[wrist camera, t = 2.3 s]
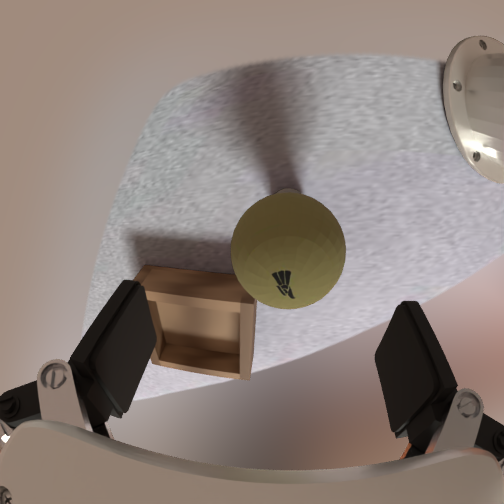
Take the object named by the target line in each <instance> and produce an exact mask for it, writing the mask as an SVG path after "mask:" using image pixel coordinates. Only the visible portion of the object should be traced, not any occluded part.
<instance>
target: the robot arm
mask: <svg viewBox="0 0 504 504" xmlns="http://www.w3.org/2000/svg"><path fill="white" fill-rule="evenodd" d="M443 95H444V105H445V111H446V117H447V120H448V124H449V127H450V130H451V133H452V136H453V138H454V140H455V143H456V145H457V147H458V149H459V151H460V152H461V154H462V156H463V157H464V159H465V160H466V161H467V162H468V164H469V165H470V166H471V167H472V168H473V169H474V170H475V171H476V172H477V173H479V174H480V175H482V176H483V177H485V178H487V179H488V180H490V181H493V182H496V183H502V184H504V44H503V43H501V42H499V41H497V40H496V39H494V38H490V37H487V36H473V37H469V38H466V39H464V40H462V41H460V42H459V43H458V44H457V45H456V46H455V47H454V48H453V49H452V51H451V53H450V55H449V57H448V59H447V62H446V66H445V70H444V80H443ZM156 342H157V335H156V332H155V328H154V324H153V321H152V317H151V313H150V309H149V305H148V301H147V296H146V292H145V288H144V286H141V284H140V282H139V281H133V280H123V281H122V283H121V284H120V285H119V287H118V288H117V289H116V291H115V292H114V293H113V295H112V296H111V298H110V299H109V300H108V302H107V303H106V305H105V306H104V307H103V309H102V310H101V312H100V313H99V314H98V316H97V317H96V319H95V320H94V322H93V323H92V325H91V326H90V328H89V329H88V331H87V332H86V334H85V335H84V337H83V338H82V340H81V341H80V343H79V345H78V346H77V347H76V349H75V351H74V352H73V354H72V355H71V357H70V360H69V361H68V363H67V362H65V361H63V360H60V359H55V360H51V361H49V362H47V363H45V364H44V365H43V366H42V367H41V368H40V370H39V372H38V375H37V380H36V381H34V382H31V383H28V384H25V385H23V386H20V387H17V388H14V389H11V390H8V391H6V392H4V393H3V394H2V395H1V396H0V504H504V426H503V425H502V424H500V423H499V422H497V421H495V420H494V419H492V418H490V417H489V416H487V415H486V414H484V413H483V408H484V406H483V402H482V399H481V397H480V396H479V395H478V394H477V393H476V392H475V391H473V390H471V389H465V388H464V389H461V390H459V391H457V389H456V387H457V386H458V385H457V382H456V380H455V377H454V375H453V373H452V370H451V368H450V366H449V363H448V361H447V359H446V357H445V354H444V352H443V350H442V348H441V346H440V344H439V342H438V340H437V338H436V335H435V334H434V331H433V330H432V328H431V326H430V324H429V322H428V320H427V318H426V316H425V314H424V312H423V310H422V308H421V307H420V305H419V303H418V302H417V301H403V302H402V303H401V304H400V305H398V306H397V307H396V310H395V312H394V314H393V316H392V319H391V321H390V323H389V326H388V328H387V330H386V332H385V334H384V336H383V338H382V340H381V342H380V345H379V346H378V348H377V350H376V353H375V363H376V367H377V370H378V374H379V378H380V382H381V386H382V391H383V395H384V399H385V404H386V408H387V413H388V417H389V422H390V427H391V430H392V432H395V436H396V438H401V437H406V436H408V439H409V443H408V445H407V447H406V448H405V450H404V452H403V454H402V455H401V457H400V459H399V460H395V461H391V462H385V463H379V464H373V465H366V466H358V467H350V468H339V469H328V470H327V469H326V470H302V471H301V470H296V471H295V470H293V471H292V470H291V471H290V470H289V471H288V470H261V469H248V468H237V467H229V466H221V465H214V464H208V463H202V462H196V461H191V460H186V459H181V458H177V457H172V456H168V455H164V454H160V453H156V452H152V451H148V450H145V449H142V448H139V447H135V446H132V445H128V444H125V443H122V442H119V441H116V440H114V437H113V435H112V432H111V430H110V427H109V424H108V422H107V421H108V419H109V416H110V415H112V416H114V417H117V418H122V415H123V413H126V412H127V411H128V410H129V407H130V405H131V402H132V400H133V397H134V395H135V392H136V390H137V387H138V385H139V383H140V380H141V378H142V375H143V373H144V371H145V368H146V366H147V364H148V361H149V359H150V357H151V354H152V352H153V350H154V347H155V345H156Z"/></svg>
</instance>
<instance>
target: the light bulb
mask: <svg viewBox="0 0 504 504" xmlns="http://www.w3.org/2000/svg"><path fill="white" fill-rule="evenodd" d="M345 256H346V245H345V239H344V235H343V232H342V229H341V226H340V225H339V223H338V221H337V219H336V218H335V217H334V215H333V214H332V213H331V211H330V210H329V209H327V208H326V207H325V206H324V205H323V204H322V203H320V202H318V201H317V200H315V199H313V198H311V197H309V196H306V195H303V194H301V193H300V192H299V191H297V190H295V189H291V188H285V189H282V190H280V191H278V192H277V193H276V194H274V195H270V196H267V197H265V198H263V199H261V200H259V201H258V202H256V203H255V204H254V205H252V206H251V207H250V208H249V209H247V211H246V212H245V213H244V214H243V215H242V217H241V218H240V220H239V222H238V224H237V226H236V228H235V230H234V233H233V237H232V241H231V261H232V266H233V269H234V272H235V274H236V277H237V279H238V281H239V282H240V284H241V285H242V286H243V288H244V289H245V290H246V291H247V292H248V293H249V294H250V295H251V296H252V297H253V298H255V299H256V300H258V301H259V302H261V303H263V304H266V305H268V306H271V307H275V308H280V309H297V308H301V307H305V306H308V305H311V304H313V303H315V302H317V301H319V300H320V299H322V298H323V297H324V296H325V295H326V294H328V293H329V291H330V290H331V289H332V288H333V287H334V285H335V284H336V283H337V281H338V279H339V277H340V275H341V273H342V270H343V267H344V263H345Z"/></svg>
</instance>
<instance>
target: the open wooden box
mask: <svg viewBox="0 0 504 504" xmlns="http://www.w3.org/2000/svg"><path fill="white" fill-rule="evenodd" d="M133 281H139V282H140V284H141V286H144V288H145V292H146V296H147V301H148V305H149V309H150V313H151V317H152V321H153V324H154V328H155V332H156V335H157V342H156V345H155V347H154V350H153V352H152V354H151V357H150V359H151V361H152V364H155V365H160V366H164V367H169V368H174V369H178V370H184V371H189V372H194V373H200V374H206V375H212V376H219V377H226V378H233V379H241V380H250V375H251V368H252V361H253V354H254V339H255V323H256V307H257V300H256V299H255V298H253V297H252V296H251V295H250V294H249V293H248V292H247V291H246V290H245V289H244V288H243V286H242V285H241V284H240V282H239V281H238V279H237V277H236V275H234V274H224V273H214V272H204V271H195V270H185V269H176V268H168V267H159V266H150V265H144V266H143V268H142V269H141V270H140V272H139V273H138V274H137V276H136V277H135V278H134V280H133Z"/></svg>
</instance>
